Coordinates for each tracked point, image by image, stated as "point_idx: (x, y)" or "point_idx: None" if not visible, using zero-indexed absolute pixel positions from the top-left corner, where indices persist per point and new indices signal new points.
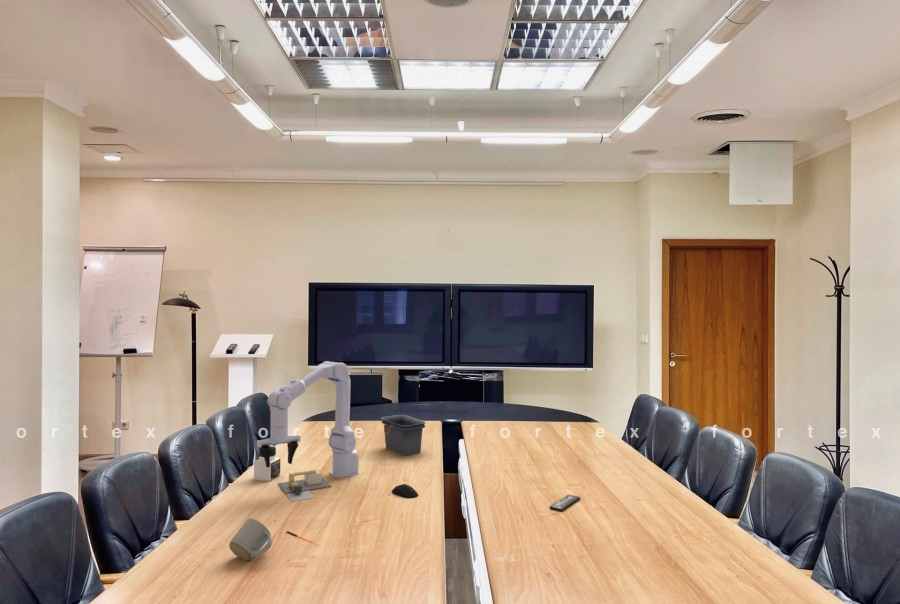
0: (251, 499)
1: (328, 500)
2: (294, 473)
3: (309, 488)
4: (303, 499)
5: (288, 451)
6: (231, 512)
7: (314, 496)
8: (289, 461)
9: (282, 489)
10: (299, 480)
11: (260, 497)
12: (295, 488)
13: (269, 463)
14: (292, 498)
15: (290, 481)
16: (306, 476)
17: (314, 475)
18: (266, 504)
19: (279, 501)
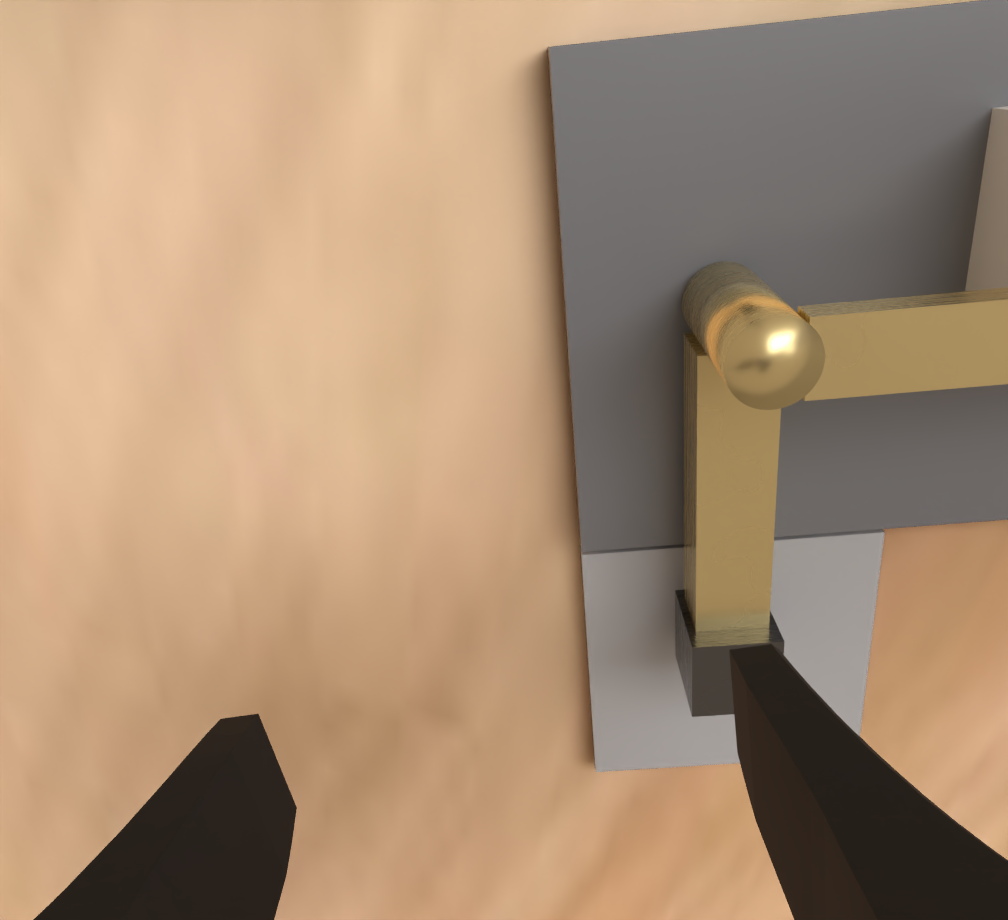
0: (171, 522)
1: (948, 814)
2: (830, 361)
3: (911, 498)
4: (723, 763)
5: (840, 886)
6: (20, 786)
7: (859, 729)
8: (749, 775)
9: (569, 367)
10: (931, 34)
11: (275, 494)
12: (690, 705)
13: (271, 902)
14: (622, 707)
15: (710, 372)
16: None
17: None
18: (344, 715)
19: (482, 684)
